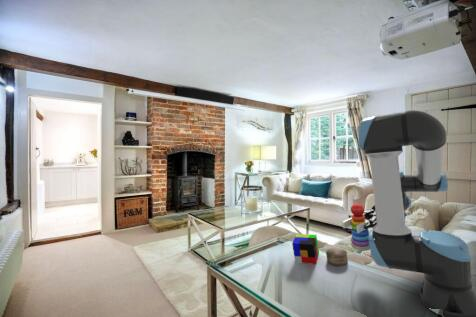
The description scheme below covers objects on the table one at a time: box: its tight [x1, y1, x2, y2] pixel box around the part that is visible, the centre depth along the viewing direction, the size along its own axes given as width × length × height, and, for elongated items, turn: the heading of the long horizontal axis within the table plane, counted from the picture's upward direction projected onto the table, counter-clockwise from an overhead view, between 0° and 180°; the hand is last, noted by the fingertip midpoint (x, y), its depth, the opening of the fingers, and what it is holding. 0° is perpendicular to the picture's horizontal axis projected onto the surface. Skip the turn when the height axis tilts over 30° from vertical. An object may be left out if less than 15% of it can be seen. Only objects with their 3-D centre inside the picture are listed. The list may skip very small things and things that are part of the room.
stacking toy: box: [350, 203, 370, 252], centre depth 98 cm, size 8×8×19 cm
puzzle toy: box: [291, 233, 320, 265], centre depth 118 cm, size 10×10×10 cm
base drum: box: [325, 247, 349, 267], centre depth 111 cm, size 9×9×4 cm
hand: (350, 227), depth 96 cm, fingers closed on stacking toy, 6 cm apart
